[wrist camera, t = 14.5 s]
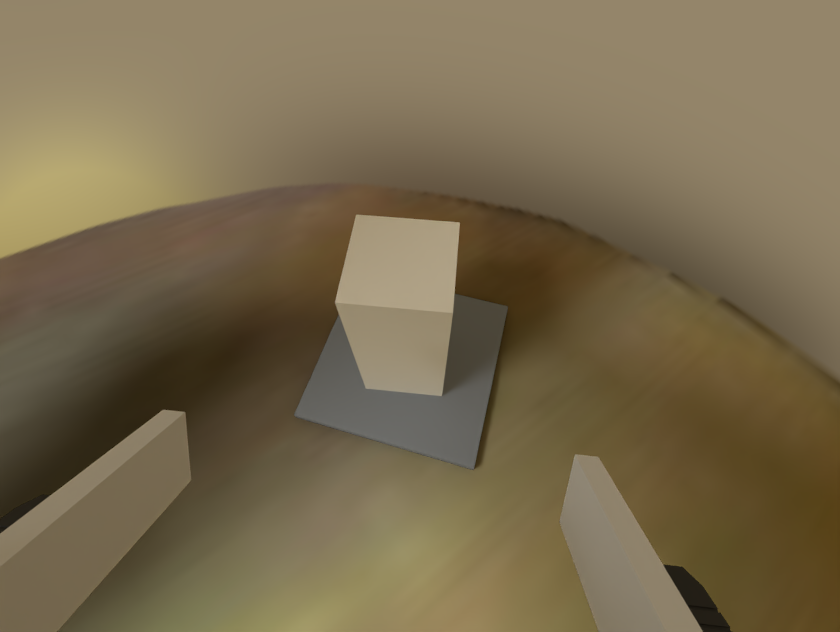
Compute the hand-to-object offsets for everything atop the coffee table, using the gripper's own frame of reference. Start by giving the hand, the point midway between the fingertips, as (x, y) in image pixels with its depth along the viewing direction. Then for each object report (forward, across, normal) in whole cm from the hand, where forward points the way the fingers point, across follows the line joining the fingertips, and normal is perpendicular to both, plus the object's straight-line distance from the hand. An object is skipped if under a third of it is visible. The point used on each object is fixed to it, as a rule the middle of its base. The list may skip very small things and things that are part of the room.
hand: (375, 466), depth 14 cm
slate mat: (+20, 0, -4) cm, 20 cm away
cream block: (+19, 0, -4) cm, 20 cm away
